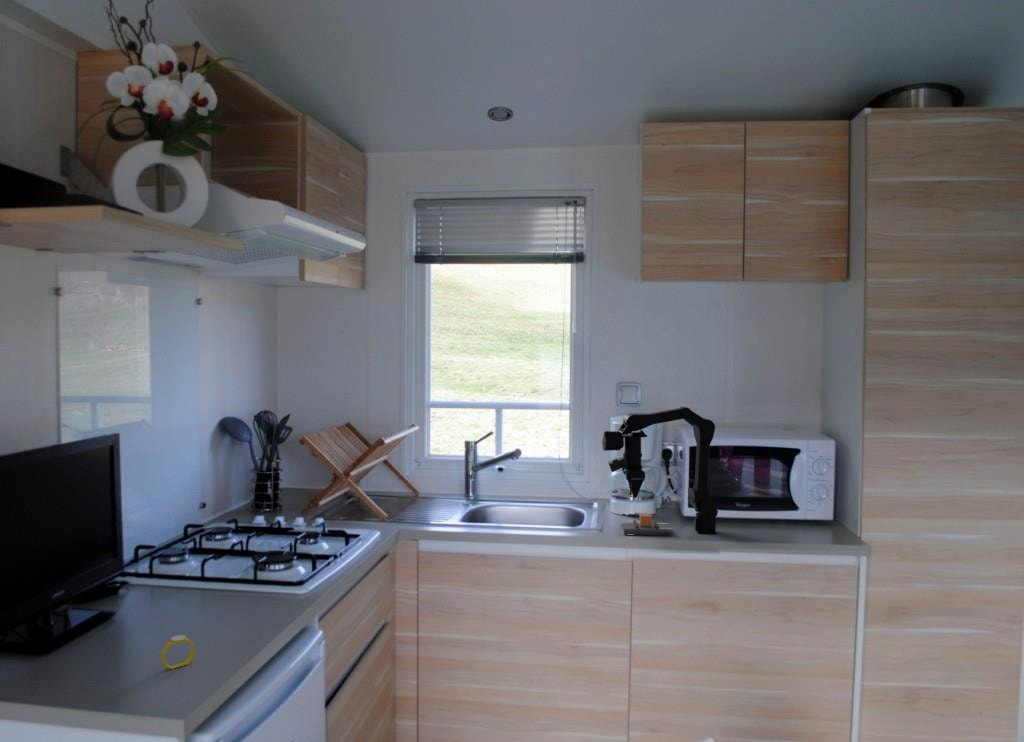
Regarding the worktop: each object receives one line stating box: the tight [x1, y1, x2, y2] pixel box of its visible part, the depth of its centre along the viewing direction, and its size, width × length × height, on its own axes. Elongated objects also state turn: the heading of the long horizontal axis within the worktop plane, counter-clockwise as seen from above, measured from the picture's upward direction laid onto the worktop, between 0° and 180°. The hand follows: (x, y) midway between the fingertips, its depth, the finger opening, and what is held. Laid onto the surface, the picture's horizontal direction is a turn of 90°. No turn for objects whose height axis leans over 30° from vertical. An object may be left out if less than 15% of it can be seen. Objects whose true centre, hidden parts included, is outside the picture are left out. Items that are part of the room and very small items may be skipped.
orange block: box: [639, 513, 653, 526], centre depth 242 cm, size 4×2×4 cm, turn 87°
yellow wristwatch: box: [160, 634, 196, 670], centre depth 138 cm, size 6×3×6 cm, turn 133°
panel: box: [620, 519, 673, 536], centre depth 242 cm, size 16×8×3 cm, turn 87°
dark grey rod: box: [623, 532, 671, 537], centre depth 237 cm, size 16×1×1 cm, turn 87°
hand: (633, 494), depth 241 cm, fingers open, 9 cm apart
